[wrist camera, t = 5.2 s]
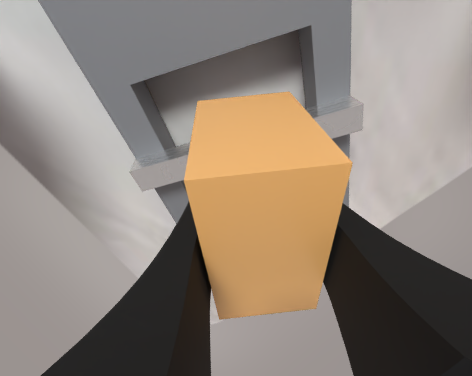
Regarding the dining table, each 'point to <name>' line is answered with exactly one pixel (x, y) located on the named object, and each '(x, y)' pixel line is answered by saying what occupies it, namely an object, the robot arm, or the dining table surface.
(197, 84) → the dining table surface
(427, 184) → the dining table surface
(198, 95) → the dining table surface
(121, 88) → the gray rectangular frame
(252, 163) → the tall orange box
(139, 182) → the hook bar
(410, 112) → the dining table surface
